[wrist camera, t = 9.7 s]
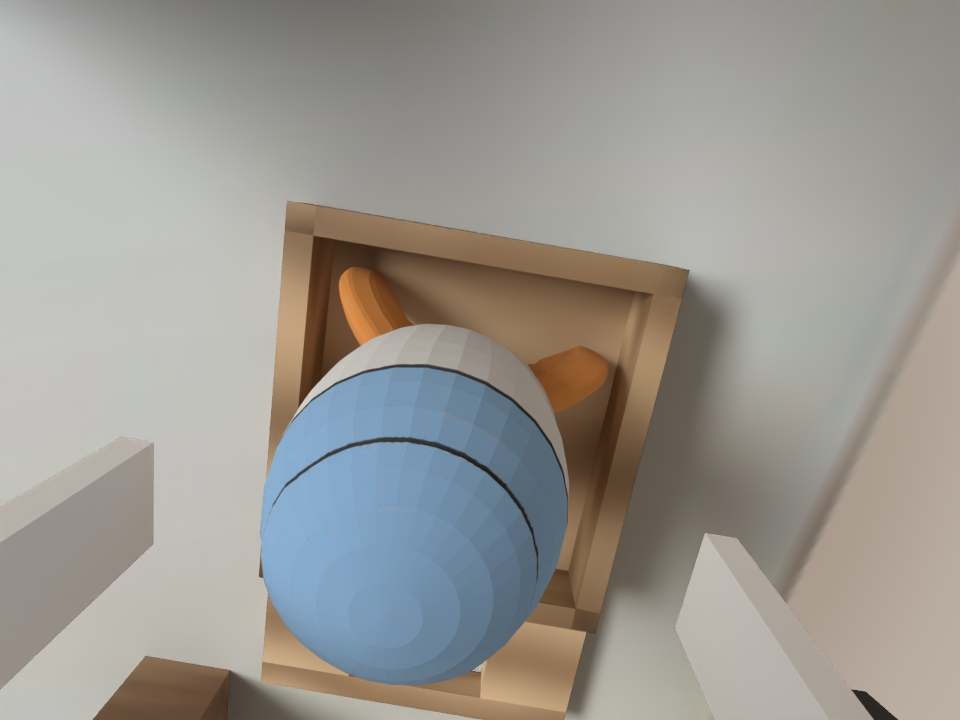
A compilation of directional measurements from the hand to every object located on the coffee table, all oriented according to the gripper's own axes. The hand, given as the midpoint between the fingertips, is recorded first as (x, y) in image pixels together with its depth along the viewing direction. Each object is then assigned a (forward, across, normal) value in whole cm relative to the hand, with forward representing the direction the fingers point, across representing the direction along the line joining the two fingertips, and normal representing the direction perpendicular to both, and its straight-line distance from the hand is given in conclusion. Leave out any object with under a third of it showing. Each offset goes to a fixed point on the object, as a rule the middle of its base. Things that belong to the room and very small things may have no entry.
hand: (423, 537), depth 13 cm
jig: (+11, 0, -5) cm, 12 cm away
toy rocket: (+10, 0, 0) cm, 10 cm away
